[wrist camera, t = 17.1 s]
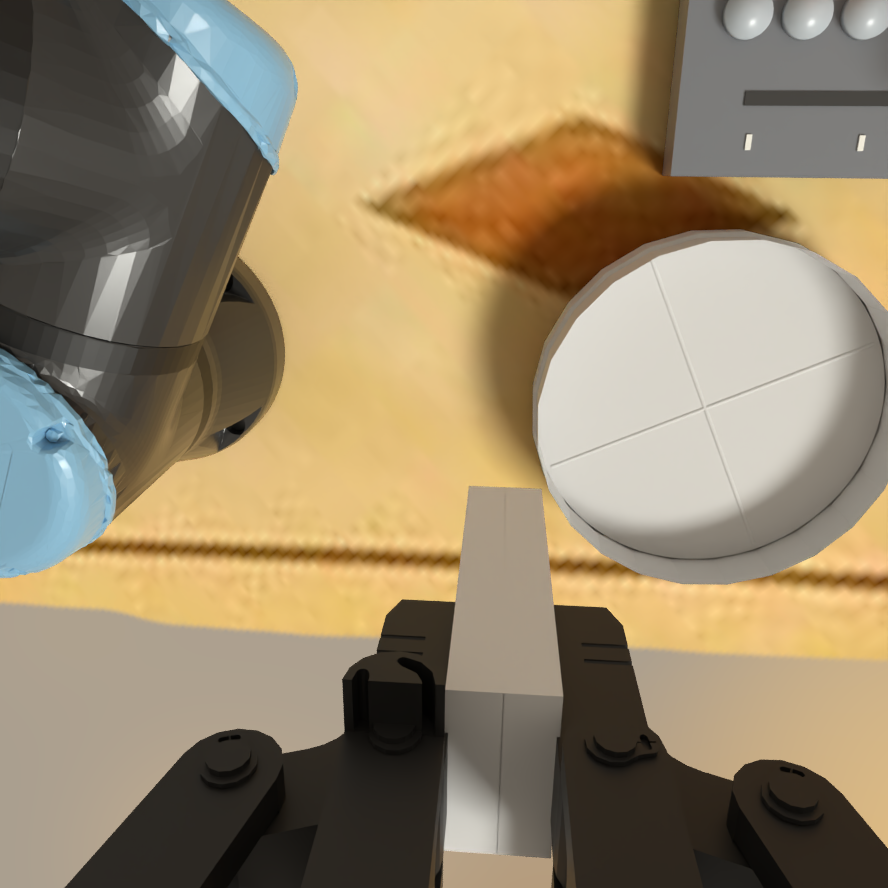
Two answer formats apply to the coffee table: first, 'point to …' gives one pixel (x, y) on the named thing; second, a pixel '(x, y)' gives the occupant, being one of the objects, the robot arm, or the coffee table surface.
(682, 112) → the console
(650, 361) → the dish
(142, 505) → the coffee table surface
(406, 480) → the coffee table surface
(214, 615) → the coffee table surface
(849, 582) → the coffee table surface
